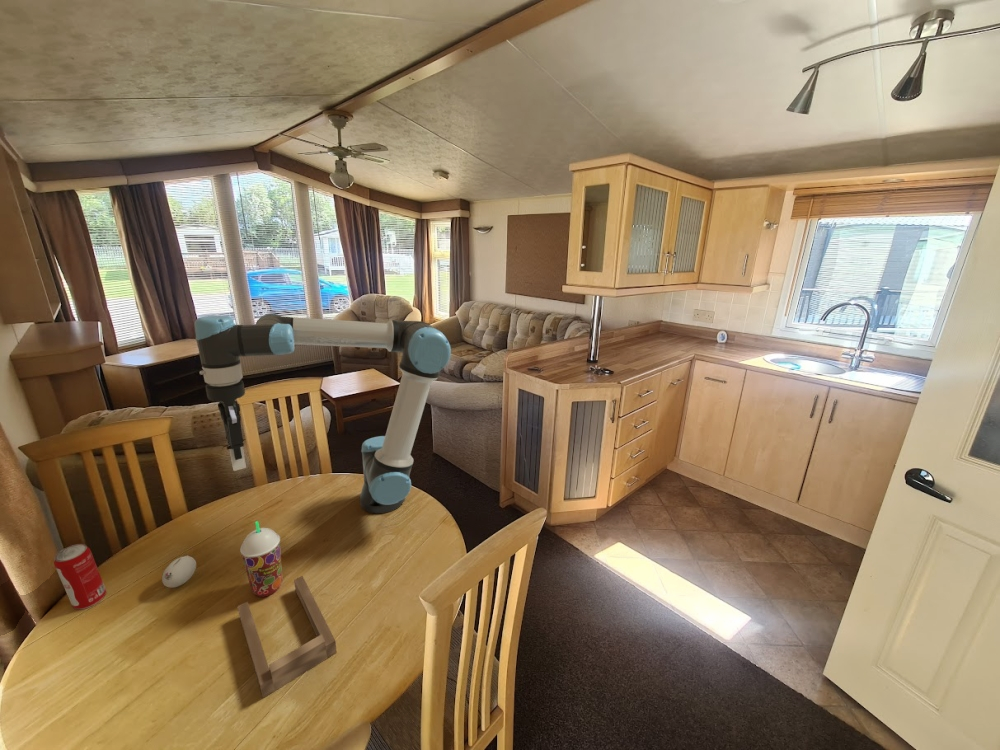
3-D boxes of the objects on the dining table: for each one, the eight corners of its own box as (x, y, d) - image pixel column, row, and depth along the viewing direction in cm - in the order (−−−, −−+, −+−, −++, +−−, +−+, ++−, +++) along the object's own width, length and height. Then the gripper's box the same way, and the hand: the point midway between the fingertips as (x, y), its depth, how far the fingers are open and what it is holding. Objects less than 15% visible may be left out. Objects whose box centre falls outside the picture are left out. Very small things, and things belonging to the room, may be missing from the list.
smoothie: (270, 605, 95) (258, 536, 89) (240, 597, 96) (226, 530, 90) (294, 578, 102) (284, 514, 96) (266, 572, 104) (255, 508, 98)
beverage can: (106, 586, 98) (90, 536, 93) (107, 602, 93) (90, 551, 89) (71, 599, 94) (53, 548, 89) (70, 617, 89) (51, 565, 85)
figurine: (181, 571, 103) (175, 550, 101) (205, 570, 103) (200, 549, 101) (158, 596, 95) (152, 574, 93) (184, 596, 96) (178, 574, 94)
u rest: (304, 586, 100) (301, 570, 99) (336, 652, 84) (334, 635, 83) (239, 617, 91) (236, 601, 90) (263, 698, 75) (259, 679, 74)
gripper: (201, 377, 96) (217, 462, 103) (209, 392, 86) (226, 484, 94) (237, 372, 100) (250, 453, 108) (248, 386, 91) (262, 474, 98)
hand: (239, 468), depth 101 cm, fingers closed
